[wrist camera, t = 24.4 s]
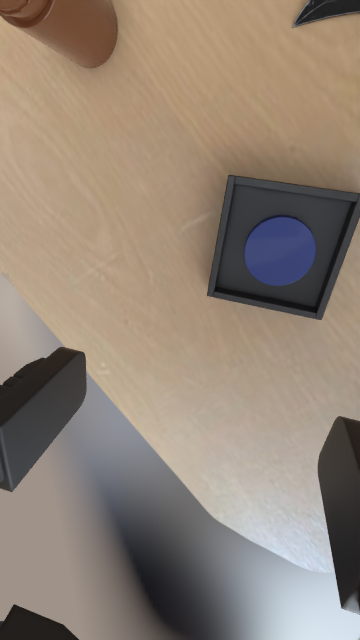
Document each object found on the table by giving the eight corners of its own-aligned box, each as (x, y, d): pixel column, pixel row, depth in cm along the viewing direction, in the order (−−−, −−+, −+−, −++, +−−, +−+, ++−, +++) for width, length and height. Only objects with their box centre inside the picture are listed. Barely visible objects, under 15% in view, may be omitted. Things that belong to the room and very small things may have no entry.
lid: (322, 220, 26) (326, 223, 25) (301, 285, 29) (303, 291, 27) (253, 209, 27) (252, 211, 26) (239, 272, 30) (237, 278, 28)
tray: (210, 289, 32) (206, 296, 30) (231, 175, 27) (228, 174, 25) (318, 312, 30) (321, 320, 28) (361, 193, 25) (368, 194, 23)
